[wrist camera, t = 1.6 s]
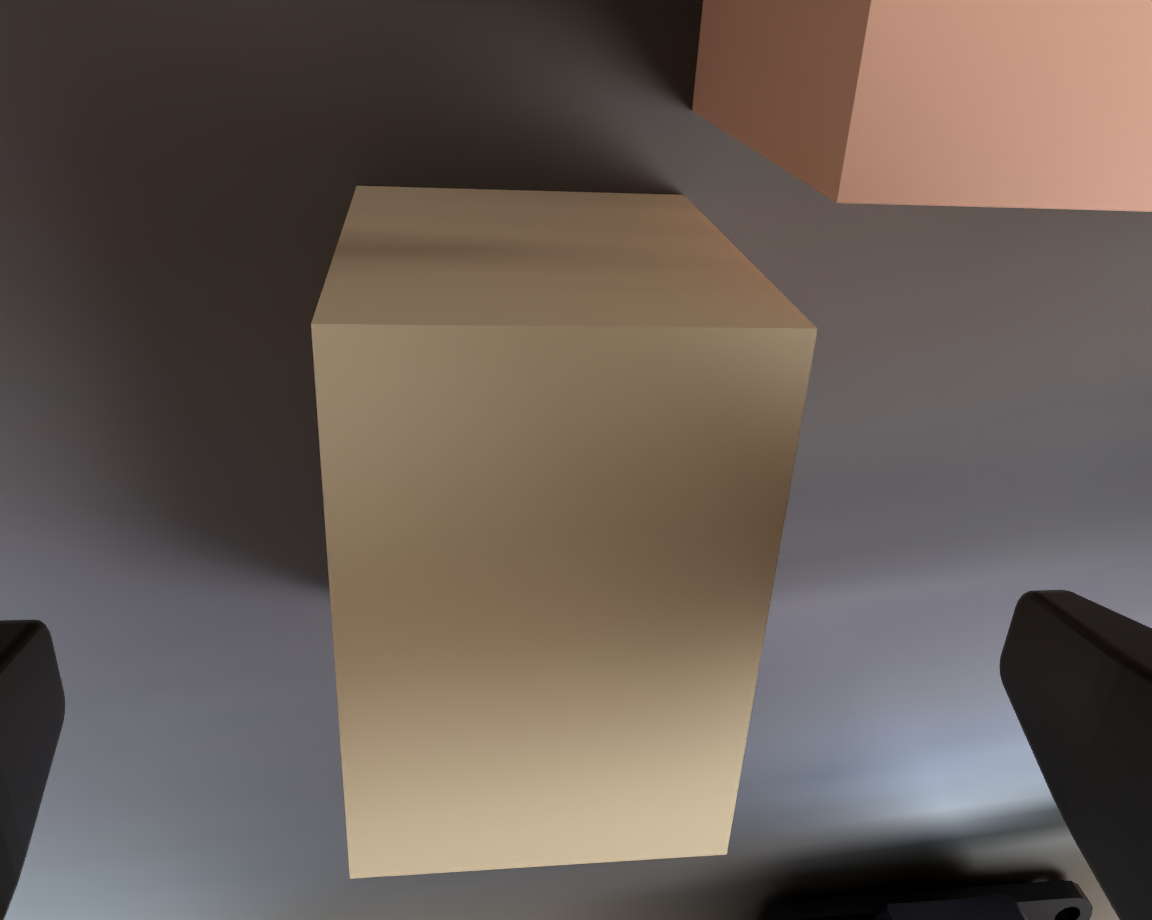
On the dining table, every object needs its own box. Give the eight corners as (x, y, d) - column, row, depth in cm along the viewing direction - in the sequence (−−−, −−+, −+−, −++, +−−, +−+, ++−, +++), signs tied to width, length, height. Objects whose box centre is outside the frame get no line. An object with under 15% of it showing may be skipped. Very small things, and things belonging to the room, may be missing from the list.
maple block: (642, 590, 15) (726, 855, 11) (375, 598, 15) (349, 878, 10) (682, 193, 12) (816, 328, 8) (356, 184, 12) (311, 323, 8)
